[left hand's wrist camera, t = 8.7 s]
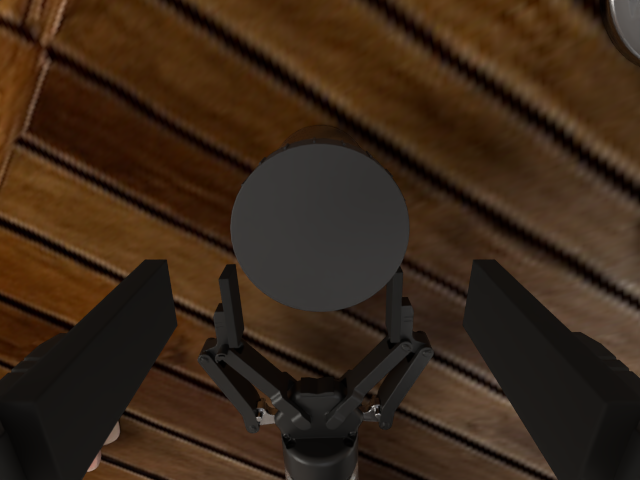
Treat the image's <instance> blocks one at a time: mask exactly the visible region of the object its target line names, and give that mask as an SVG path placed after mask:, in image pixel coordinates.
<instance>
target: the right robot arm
mask: <svg viewBox="0 0 640 480" xmlns="http://www.w3.org/2000/svg"><path fill="white" fill-rule="evenodd" d="M402 284H403V271H402V269H401V267H400V266H399V268H398V269H397V271H396V272H395V274H394V275H393V277H392V278H391V279H390V280H389V281H388V283H387V293H386V327H387V331H388V335H387V336H386V337H385V338H384V339H383V340H382V341H381V342H380V343H379V344H378V345H377V346H376V347H375V348H374V349H373V350H372V351H371V352H370V353H369V354H368V355H367V356H366V357H365V358H364V359H363V360H362V361H361V362H360V363H359V364H358V365H357V366H356V367H355V368H354V369H353V370H348V371H347V372H346V373H345V374H344V375H343V376H342V377H341V378H340V379H339V380H335V379H334V377H323V378H319V379H315V378H310V377H305V378H301V380H300V381H296V380H295V379H294V378H293V377H292V376H291V375H289V374H288V373H287V372H281V371H280V370H279V369H277V368H276V367H275V366H274V365H273V364H272V363H270V362H269V361H268V360H267V359H266V358H264V357H263V356H262V355H261V354H260V353H258V352H257V351H256V350H255V349H254V348H252V347H251V346H250V345H249V344H248V343H247V342H245V341H244V340H243V339H242V334H243V331H244V323H243V316H242V308H241V301H240V293H239V286H238V279H237V271H236V264H227V265H226V267H225V269H224V270H223V272H222V274H221V276H220V278H219V285H220V291H221V297H222V303H219V305H218V307H217V309H216V311H215V313H214V317H213V318H214V323H215V330H216V336H217V338H216V339H215V338H208V339H207V340H206V342H205V344H204V346H203V348H202V351H201V353H200V355H199V357H198V362H199V364H200V365H201V366H202V367H203V369H204V370H205V371H206V372H207V373H208V375H209V376H210V377H211V378H212V380H213V381H214V382H215V383H216V384H217V386H218V387H219V388H220V389H221V390H222V392H223V393H224V394H225V395H226V397H227V398H228V399H229V400H230V401H231V403H232V404H233V405H234V406H235V407H236V409H237V410H238V411H239V412H240V414H241V415H242V416H243V419H244V423H245V426H246V429H247V431H248V432H250V433H257V432H258V431H259V427H260V425H263V424H272V423H275V424H276V425H277V426H278V428H279V429H280V431H281V436H282V445H283V455H284V463H285V474H286V480H358V428H359V426H360V424H361V423H362V421H376V422H379V427H380V428H381V429H384V430H387V429H389V428H391V426H392V422H393V417H394V412H395V410H396V409H397V407H398V406H399V404H400V403H401V401H402V400H403V398H404V397H405V396H406V394H407V393H408V391H409V390H410V388H411V387H412V385H413V384H414V382H415V381H416V379H417V378H418V376H419V375H420V374H421V372H422V371H423V369H424V368H425V366H426V365H427V363H428V362H429V360H430V359H431V357H432V356H433V354H434V352H433V349H432V347H431V345H430V342H429V340H428V338H427V336H426V334H425V332H423V331H417V332H413V331H412V329H413V312H414V311H413V308H412V306H411V303H410V301H409V299H408V297H402ZM386 374H388V375H387V377H386V378H385V380H384V381H383V383H382V384H381V386H380V388H379V390H378V394H377V395H373V396H372V399H371V400H370V402H369V404H367V405H364V406H362V404H361V403H362V401H363V398H364V396H365V394H366V393H367V392H369V391H370V390H371V389H372V388H373V387H374V386H375V385H376V384H377V383H378V382H379V381H380V380H381V379H382V378H383V377H384V376H385V375H386ZM250 382H251V383H252V384H253V385H254V386H256V387H257V388H258V389H259V390H261V391H262V392H263V393H264V394H266V395H267V396H268V397H269V398H270V399H271V401H272V404H273V405H274V406H275V407H276V408H271V407H269V406H268V405H267V403H266V402H265V401H266V400H265V399H264V398H260V397H259V394H258V392H257V391H256V389H255V388H254V387H253V385H252V384H251V383H250Z"/></svg>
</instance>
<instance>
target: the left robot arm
mask: <svg viewBox="0 0 640 480" xmlns="http://www.w3.org/2000/svg"><path fill="white" fill-rule="evenodd" d="M600 9H601V15H602V19H603V23H604V26H605V28H606V31H607V33H608V35H609V37H610V39H611V41H612V43H613V44H614V45H615V47H616V48H617V49H618V50H619V52H620V53H621V54H622V55H623V56H624V57H626V58H627V59H628V60H629V61H631V62H633V63H634V64H636V65H638V66H640V0H600ZM176 327H177V320H176V313H175V307H174V301H173V295H172V289H171V283H170V277H169V271H168V265H167V260H144V261H143V262H142V263H141V264H140V265H139V266H138V267H137V268H136V269H135V270H134V271H133V272H132V273H130V274H129V275H128V276H127V277H126V278H125V279H124V280H123V281H122V282H121V283H120V284H119V285H118V286H117V287H116V288H115V289H114V290H112V291H111V292H110V293H109V294H108V295H107V296H106V297H105V298H104V299H103V300H102V301H101V302H100V303H99V304H98V305H97V306H96V307H94V308H93V309H92V310H91V311H90V312H89V313H88V314H87V315H86V316H85V317H84V318H83V319H82V320H81V321H80V322H79V323H78V324H76V325H75V326H74V327H73V328H72V329H71V330H70V331H69V332H68V333H60V334H58V335H56V336H54V337H53V338H51V339H49V340H47V341H46V342H44V343H42V344H40V345H39V346H38V347H37V348H36V349H34V350H33V351H32V352H31V353H30V354H29V355H28V356H27V357H25V358H24V361H21V362H20V363H19V364H18V365H17V366H15V367H14V368H13V369H12V372H11V373H8V374H6V375H5V376H4V377H3V378H2V379H1V380H0V480H82V479H83V477H84V475H85V474H86V472H87V471H88V469H89V467H90V466H91V464H92V462H93V461H94V459H95V458H96V456H97V454H98V453H99V451H100V450H101V448H102V446H103V445H104V443H105V441H106V440H107V438H108V437H109V435H110V433H111V432H112V430H113V429H114V427H115V425H116V424H117V422H118V420H119V419H120V417H121V416H122V414H123V412H124V411H125V409H126V407H127V406H128V404H129V403H130V401H131V399H132V398H133V396H134V395H135V393H136V391H137V390H138V388H139V386H140V385H141V383H142V382H143V380H144V378H145V377H146V375H147V374H148V372H149V370H150V369H151V367H152V365H153V364H154V362H155V361H156V359H157V357H158V356H159V354H160V353H161V351H162V349H163V348H164V346H165V344H166V343H167V341H168V340H169V338H170V336H171V335H172V333H173V332H174V330H175V328H176ZM463 327H464V328H465V330H466V332H467V333H468V335H469V336H470V338H471V340H472V341H473V343H474V344H475V346H476V348H477V349H478V351H479V353H480V354H481V356H482V357H483V359H484V361H485V362H486V364H487V365H488V367H489V369H490V370H491V372H492V374H493V375H494V377H495V378H496V380H497V382H498V383H499V385H500V386H501V388H502V390H503V391H504V393H505V395H506V396H507V398H508V399H509V401H510V403H511V404H512V406H513V407H514V409H515V411H516V412H517V414H518V416H519V417H520V419H521V420H522V422H523V424H524V425H525V427H526V429H527V430H528V432H529V433H530V435H531V437H532V438H533V440H534V441H535V443H536V445H537V446H538V448H539V450H540V451H541V453H542V454H543V456H544V458H545V459H546V461H547V462H548V464H549V466H550V467H551V469H552V471H553V472H554V474H555V475H556V477H557V479H558V480H640V378H639V377H638V376H637V375H636V374H635V373H633V372H632V371H629V368H628V367H627V366H626V365H624V364H623V363H622V362H621V361H620V360H617V359H616V357H615V356H614V355H613V354H612V353H611V352H610V351H609V350H607V349H606V348H605V347H604V346H603V345H602V344H601V343H599V342H597V341H595V340H594V339H592V338H590V337H588V336H586V335H585V334H583V333H581V332H571V331H570V330H569V329H568V328H567V327H566V326H565V325H564V324H562V323H561V322H560V321H559V320H558V319H557V318H556V317H555V316H554V315H553V314H552V313H551V312H550V311H549V310H548V309H547V308H546V307H544V306H543V305H542V304H541V303H540V302H539V301H538V300H537V299H536V298H535V297H534V296H533V295H532V294H531V293H530V292H529V291H528V290H526V289H525V288H524V287H523V286H522V285H521V284H520V283H519V282H518V281H517V280H516V279H515V278H514V277H513V276H512V275H511V274H510V273H508V272H507V271H506V270H505V269H504V268H503V267H502V266H501V265H500V264H499V263H498V262H497V261H496V260H473V265H472V271H471V277H470V283H469V289H468V295H467V301H466V307H465V313H464V320H463Z"/></svg>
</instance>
